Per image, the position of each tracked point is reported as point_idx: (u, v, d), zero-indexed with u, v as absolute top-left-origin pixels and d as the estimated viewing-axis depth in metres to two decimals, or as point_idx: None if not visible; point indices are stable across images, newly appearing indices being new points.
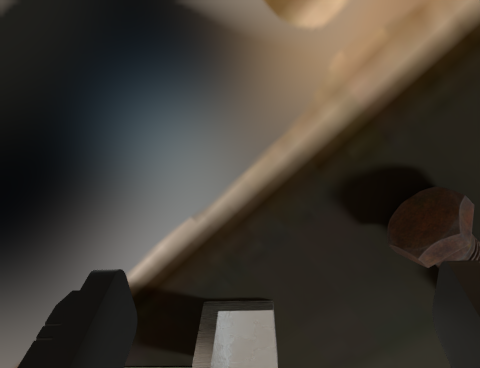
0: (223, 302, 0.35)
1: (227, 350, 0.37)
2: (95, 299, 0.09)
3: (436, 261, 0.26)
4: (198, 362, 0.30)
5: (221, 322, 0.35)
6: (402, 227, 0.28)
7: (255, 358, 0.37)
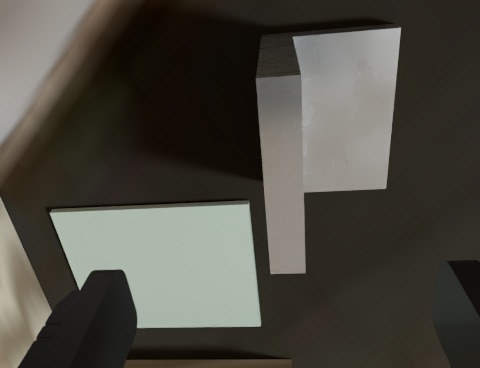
0: (298, 32, 0.19)
1: None
2: (95, 299, 0.09)
3: None
4: (270, 65, 0.14)
5: None
6: None
7: (348, 160, 0.21)
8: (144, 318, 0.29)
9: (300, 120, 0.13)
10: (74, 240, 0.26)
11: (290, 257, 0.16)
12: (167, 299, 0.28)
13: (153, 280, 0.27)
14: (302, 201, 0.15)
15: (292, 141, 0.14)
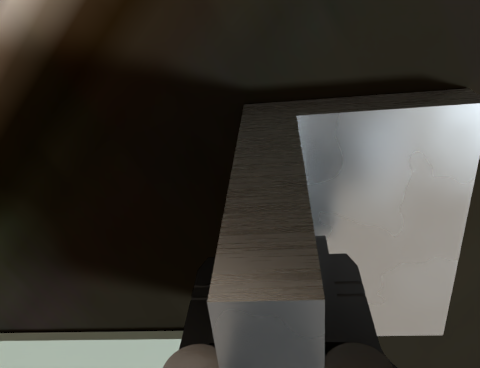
0: (306, 102, 0.11)
1: None
2: None
3: None
4: (248, 230, 0.06)
5: None
6: None
7: (386, 297, 0.13)
8: None
9: None
10: None
11: None
12: None
13: None
14: None
15: None
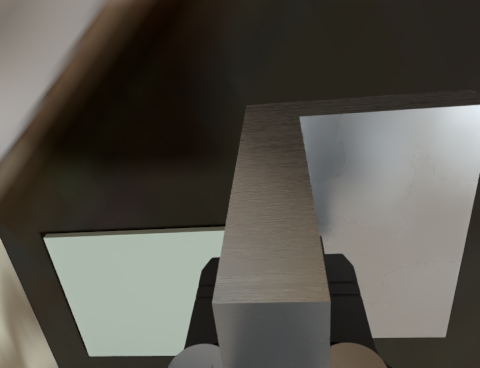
0: (309, 103, 0.11)
1: None
2: None
3: None
4: (252, 231, 0.06)
5: None
6: None
7: (388, 298, 0.13)
8: (141, 346, 0.28)
9: None
10: (69, 266, 0.25)
11: None
12: (165, 326, 0.27)
13: (150, 306, 0.26)
14: None
15: None
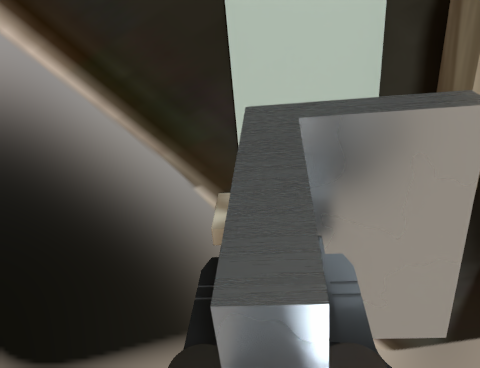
0: (308, 104, 0.11)
1: None
2: None
3: None
4: (251, 234, 0.06)
5: None
6: None
7: (389, 299, 0.13)
8: None
9: None
10: None
11: None
12: (339, 77, 0.28)
13: (313, 87, 0.28)
14: None
15: None
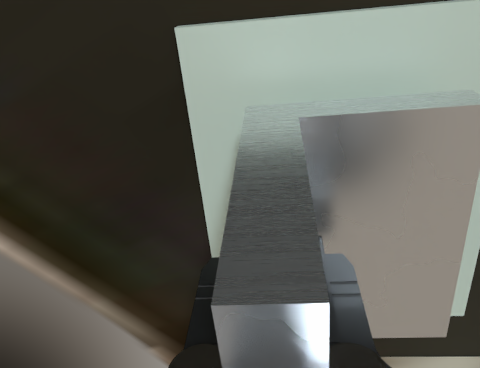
0: (308, 104, 0.11)
1: None
2: None
3: None
4: (252, 233, 0.06)
5: None
6: None
7: (388, 298, 0.13)
8: None
9: None
10: None
11: None
12: None
13: None
14: None
15: None
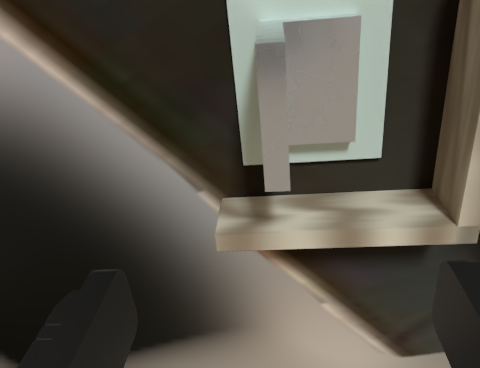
0: (287, 19, 0.25)
1: (288, 104, 0.27)
2: (95, 299, 0.09)
3: None
4: (264, 37, 0.20)
5: (284, 45, 0.25)
6: None
7: (326, 118, 0.27)
8: (371, 106, 0.28)
9: (284, 73, 0.20)
10: None
11: (279, 178, 0.23)
12: None
13: None
14: (287, 133, 0.21)
15: (279, 89, 0.20)
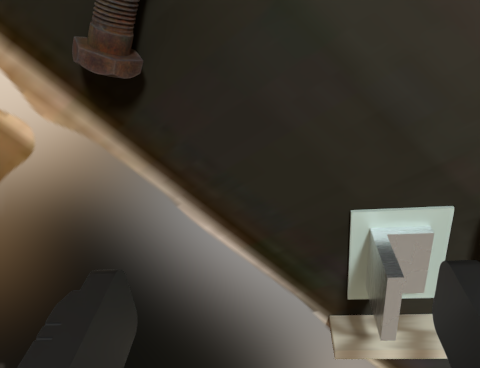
0: (387, 228, 0.42)
1: None
2: (95, 299, 0.09)
3: (107, 59, 0.31)
4: (388, 266, 0.37)
5: None
6: None
7: (407, 281, 0.44)
8: (434, 271, 0.45)
9: (401, 290, 0.36)
10: (366, 292, 0.47)
11: (390, 334, 0.39)
12: None
13: None
14: (398, 315, 0.38)
15: (397, 296, 0.37)
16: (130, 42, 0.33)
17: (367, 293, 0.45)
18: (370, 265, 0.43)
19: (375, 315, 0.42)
